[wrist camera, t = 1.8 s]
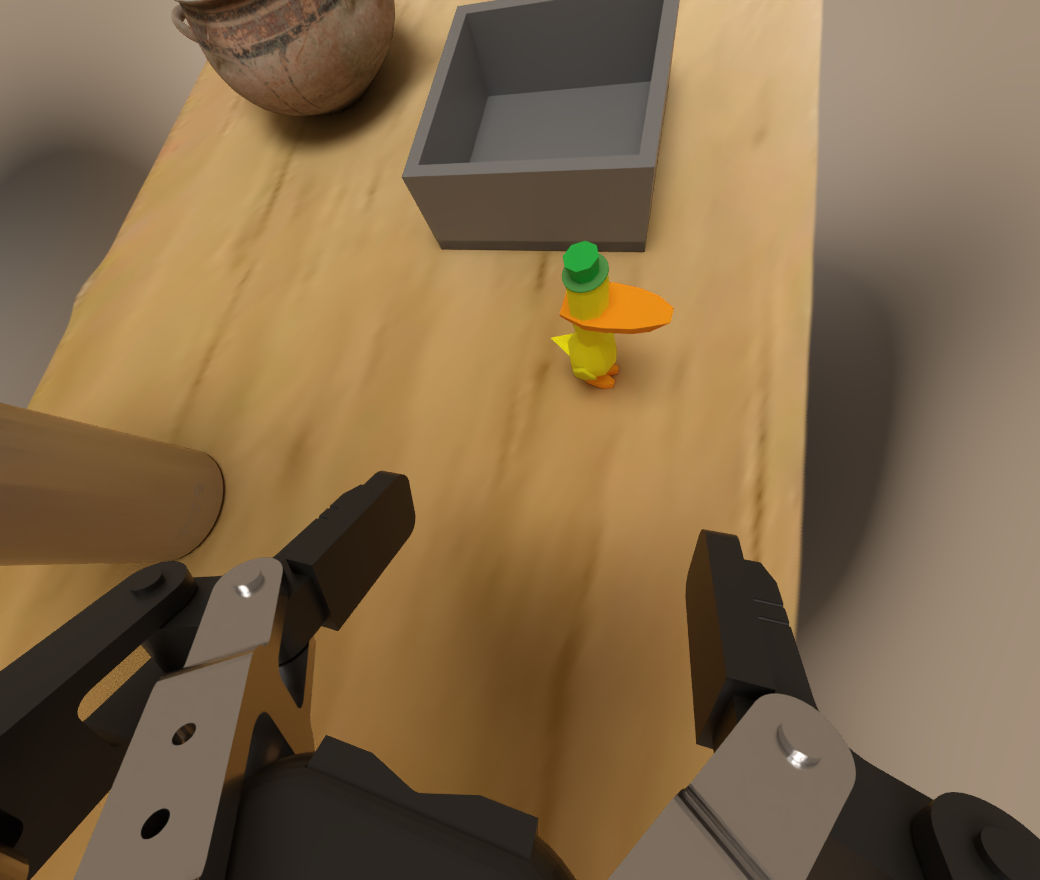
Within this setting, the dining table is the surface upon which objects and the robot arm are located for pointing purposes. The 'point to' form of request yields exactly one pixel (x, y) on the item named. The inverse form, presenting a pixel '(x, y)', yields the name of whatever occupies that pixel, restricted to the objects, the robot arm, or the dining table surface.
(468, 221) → the bin
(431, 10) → the dining table surface
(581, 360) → the toy figure
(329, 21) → the cooking pot
